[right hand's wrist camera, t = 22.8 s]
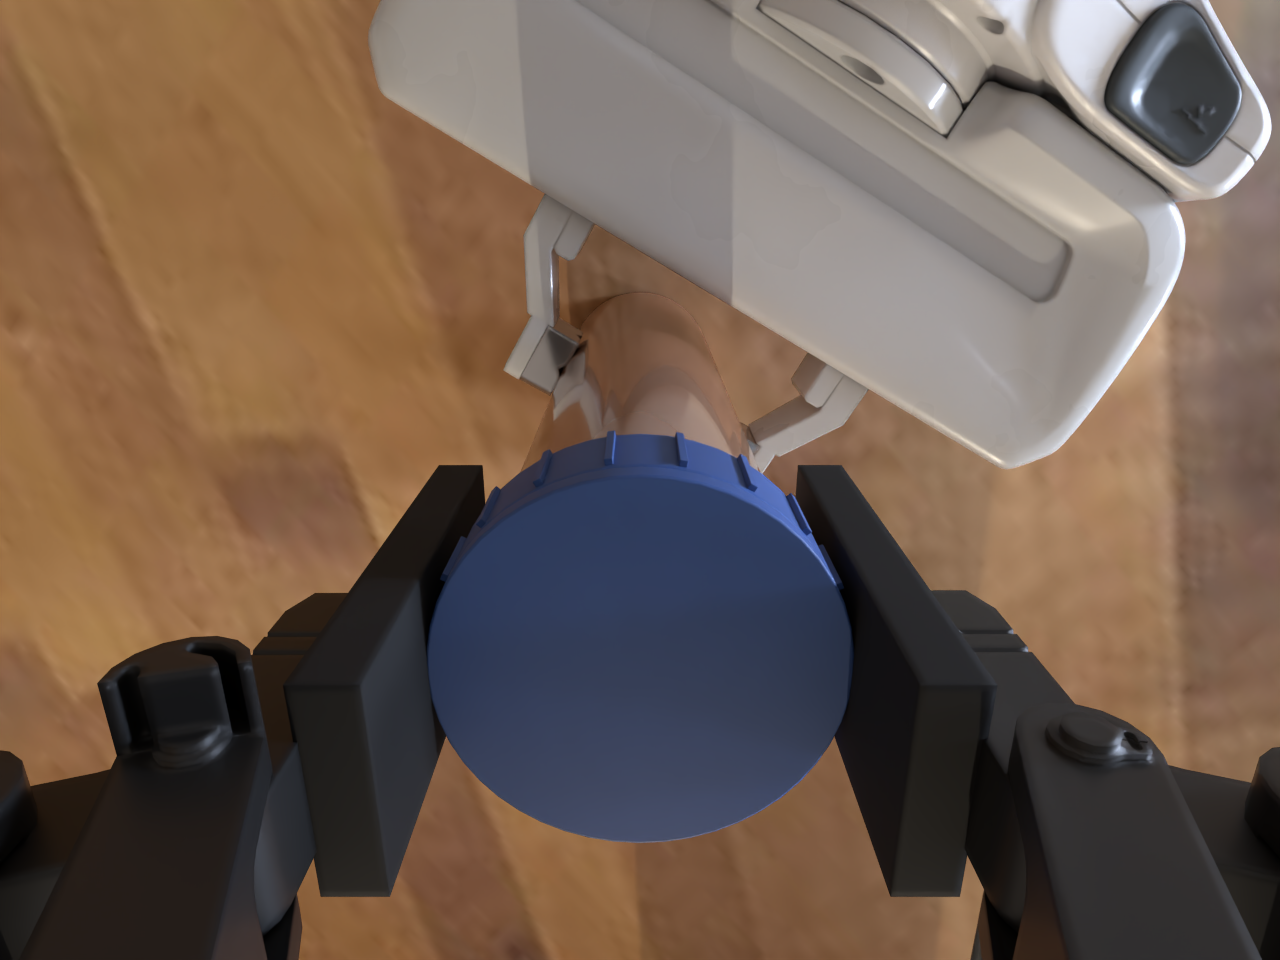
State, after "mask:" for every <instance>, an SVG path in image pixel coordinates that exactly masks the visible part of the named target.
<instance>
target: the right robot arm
mask: <svg viewBox="0 0 1280 960" xmlns="http://www.w3.org/2000/svg"><path fill="white" fill-rule="evenodd" d="M796 500H797V502H798V504H799V506H800V508H801V511H802V513H803V515H804V517H805V519H806V521H807V523H808V525H809V527H810V529H811V531H812V532H811V533H812V535H813V537H814V539H815V541H816V543H817V545H818V546H819V545H822V544H823V546H824V548H825V550H826V552H827V554H828V555H829V557H830V559H831V561H832V563H833V565H834V567H835V569H836V571H837V573H838V575H839V577H840V579H841V581H842V583H843V586H844V589H842V590H839V591H840V593H841V596H842V598H843V600H844V602H845V605H846V609H847V612H848V616H849V620H850V623H851V627H852V635H853V643H854V661H853V671H852V681H851V689H850V697H849V701H848V704H847V707H846V710H845V713H844V716H843V718H842V721H841V724H840V726H839V728H838V730H837V732H836V733H835V735H834V736H835V739H836V742H837V745H838V748H839V751H840V753H841V756H842V759H843V762H844V765H845V768H846V771H847V773H848V776H849V779H850V782H851V785H852V788H853V791H854V793H855V796H856V799H857V802H858V805H859V808H860V811H861V813H862V816H863V819H864V822H865V825H866V828H867V830H868V833H869V836H870V839H871V842H872V845H873V848H874V850H875V853H876V856H877V859H878V862H879V865H880V868H881V870H882V873H883V876H884V879H885V882H886V885H887V888H888V890H889V893H890V896H891V897H960V892H961V887H962V881H963V876H964V870H965V865H966V859H967V855H968V857H969V859H970V861H971V863H972V865H973V867H974V869H975V872H976V874H977V876H978V878H979V880H980V882H981V884H982V886H983V888H984V893H983V898H982V903H981V908H980V913H979V918H978V924H977V929H976V934H975V939H974V944H973V950H972V955H971V960H1280V747H1277V748H1272V749H1270V750H1269V751H1268V752H1266V753H1265V754H1263V755H1262V756H1261V757H1260V758H1259V761H1258V764H1257V767H1256V770H1255V773H1254V776H1253V779H1252V783H1249V782H1245V781H1240V780H1235V779H1230V778H1225V777H1220V776H1215V775H1210V774H1205V773H1200V772H1195V771H1190V770H1185V769H1181V768H1178V767H1174V766H1170V765H1168V764H1167V762H1166V760H1165V758H1164V756H1163V754H1162V753H1161V752H1160V750H1159V749H1158V748H1157V747H1156V745H1155V744H1154V743H1153V741H1152V740H1151V739H1150V738H1149V737H1148V736H1146V735H1145V734H1143V733H1142V732H1141V731H1139V730H1138V729H1136V728H1135V727H1134V726H1132V725H1131V724H1129V723H1128V722H1126V721H1123V720H1121V719H1119V718H1117V717H1114V716H1112V715H1110V714H1108V713H1105V712H1103V711H1100V710H1096V709H1092V708H1088V707H1084V706H1080V705H1076V704H1075V703H1074V702H1073V701H1072V700H1071V699H1070V697H1069V696H1068V695H1067V694H1066V693H1065V691H1064V690H1063V689H1062V688H1061V687H1060V685H1059V684H1058V683H1057V682H1056V681H1055V679H1054V678H1053V677H1052V676H1051V675H1050V673H1049V672H1048V671H1047V670H1046V669H1045V667H1044V666H1043V665H1042V664H1041V663H1040V661H1039V660H1038V659H1037V658H1036V657H1035V655H1034V654H1033V653H1032V652H1028V647H1027V646H1026V645H1025V643H1024V642H1023V641H1022V640H1021V639H1020V637H1019V636H1018V635H1017V634H1013V629H1012V628H1011V627H1010V625H1009V624H1008V623H1007V622H1006V621H1005V619H1004V618H1003V617H1002V616H1001V615H1000V613H999V612H998V611H997V610H996V609H995V608H994V607H992V606H990V605H989V604H987V603H985V602H984V601H982V600H980V599H979V598H977V597H976V596H974V595H972V594H971V593H969V592H967V591H966V590H930V589H929V588H928V586H927V585H926V584H925V582H924V581H923V579H922V578H921V577H920V575H919V574H918V572H917V571H916V569H915V568H914V567H913V565H912V564H911V562H910V561H909V560H908V558H907V557H906V555H905V554H904V553H903V551H902V550H901V548H900V547H899V546H898V544H897V543H896V541H895V540H894V539H893V537H892V536H891V534H890V533H889V531H888V530H887V529H886V527H885V526H884V524H883V523H882V522H881V520H880V519H879V517H878V516H877V515H876V513H875V512H874V510H873V509H872V508H871V506H870V505H869V503H868V502H867V501H866V499H865V498H864V496H863V495H862V493H861V492H860V491H859V489H858V488H857V486H856V485H855V484H854V482H853V481H852V479H851V478H850V477H849V475H848V474H847V472H846V471H845V470H844V468H843V467H842V465H798V473H797V487H796ZM484 506H485V494H484V480H483V466H482V465H439V466H438V467H437V469H436V470H435V472H434V473H433V474H432V476H431V477H430V479H429V480H428V481H427V483H426V484H425V486H424V487H423V489H422V490H421V491H420V493H419V494H418V496H417V497H416V498H415V500H414V501H413V503H412V504H411V505H410V507H409V508H408V510H407V511H406V512H405V514H404V515H403V517H402V518H401V519H400V521H399V522H398V524H397V525H396V527H395V528H394V529H393V531H392V532H391V534H390V535H389V536H388V538H387V539H386V541H385V542H384V543H383V545H382V546H381V548H380V549H379V550H378V552H377V553H376V555H375V556H374V558H373V559H372V560H371V562H370V563H369V565H368V566H367V567H366V569H365V570H364V572H363V573H362V574H361V576H360V577H359V579H358V580H357V581H356V583H355V584H354V586H353V587H352V588H351V590H350V591H349V593H315V594H313V595H311V596H310V597H308V598H306V599H305V600H303V601H302V602H300V603H298V604H297V605H295V606H293V607H292V608H290V609H288V610H287V611H285V612H284V614H283V615H282V616H281V617H280V619H279V620H278V621H277V622H276V623H275V625H274V626H273V627H272V628H271V629H270V631H269V632H268V637H264V638H263V639H262V640H261V642H260V643H259V644H258V645H257V646H256V648H255V649H254V650H253V655H251V654H250V649H249V648H248V647H246V646H245V645H243V644H242V643H241V642H239V641H238V640H234V639H229V638H224V637H219V636H208V637H190V638H185V639H181V640H176V641H171V642H167V643H162V644H160V645H157V646H154V647H152V648H149V649H147V650H144V651H141V652H139V653H136V654H134V655H132V656H131V657H129V658H127V659H126V660H124V661H122V662H121V663H119V664H117V665H116V666H114V667H113V668H111V669H110V670H109V671H108V673H107V674H106V675H105V676H104V677H103V678H102V679H101V680H100V681H99V682H98V683H97V684H98V688H99V692H100V695H101V699H102V703H103V706H104V710H105V714H106V717H107V721H108V725H109V728H110V732H111V736H112V739H113V743H114V747H115V750H116V754H117V757H116V759H115V761H114V763H113V765H112V767H111V769H109V770H105V771H102V772H98V773H93V774H88V775H83V776H79V777H74V778H69V779H64V780H59V781H54V782H49V783H44V784H39V785H34V786H30V784H29V780H28V777H27V774H26V771H25V768H24V765H23V762H22V760H20V759H19V758H18V757H16V756H15V755H14V754H12V753H11V752H9V751H0V960H298V958H299V950H300V942H301V934H302V922H301V914H300V908H299V903H298V898H297V891H298V889H299V887H300V885H301V883H302V881H303V879H304V877H305V875H306V873H307V871H308V868H309V866H310V864H311V862H312V860H313V858H314V862H315V867H316V873H317V878H318V884H319V890H320V895H321V897H390V895H391V892H392V889H393V886H394V883H395V880H396V878H397V875H398V872H399V869H400V866H401V863H402V860H403V858H404V855H405V852H406V849H407V846H408V843H409V840H410V838H411V835H412V832H413V829H414V826H415V823H416V820H417V818H418V815H419V812H420V809H421V806H422V803H423V800H424V798H425V795H426V792H427V789H428V786H429V783H430V780H431V778H432V775H433V772H434V769H435V766H436V763H437V760H438V758H439V755H440V752H441V749H442V746H443V743H444V740H445V738H446V734H445V732H444V730H443V728H442V726H441V724H440V722H439V719H438V716H437V713H436V710H435V707H434V704H433V701H432V698H431V693H430V685H429V676H428V666H427V650H426V649H427V641H428V634H429V626H430V622H431V619H432V615H433V612H434V608H435V605H436V602H437V599H438V597H439V595H440V593H441V591H442V589H443V586H444V584H445V582H444V581H442V580H440V578H441V576H442V573H443V571H444V569H445V567H446V565H447V563H448V561H449V559H450V557H451V555H452V553H453V551H454V549H455V547H456V546H457V544H458V542H459V540H460V538H461V536H463V537H465V538H467V537H468V535H469V533H470V531H471V529H472V527H473V525H474V523H475V522H476V520H477V519H478V517H479V516H480V514H481V512H482V510H483V508H484Z"/></svg>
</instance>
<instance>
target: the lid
mask: <svg viewBox="0 0 1280 960" xmlns="http://www.w3.org/2000/svg"><path fill="white" fill-rule="evenodd" d="M811 532H812V531H811V529H810V527H809V525H808V523H807V521H806V519H805V517H804V515H803V513H802V511H801V508H800V506H799V504H798V502H797V500H796V498H795V497H794V496H793V495H792V494H791V493H790V494H789V495H788V496H785V494H784V493H783V492H782V491H781V490H780V489H779V488H778V487H777V486H776V485H774V484H773V483H772V482H771V481H770V480H769V479H768V478H766V477H765V476H764V475H763V474H762V473H760V472H759V471H757V470H756V469H754V468H753V467H751V466H750V465H749V462H748V460H747V457H745V456H744V455H742V454H740V455H739V456H738V458H736V457H734V456H732V455H730V454H728V453H726V452H724V451H722V450H720V449H717V448H714V447H711V446H708V445H705V444H702V443H699V442H696V441H693V440H688V439H684V433H679V432H676V435H675V437H672V436H666V435H651V434H630V435H616V433H615V431H608V432H607V437H603V438H598V439H593V440H588V441H585V442H582V443H579V444H576V445H573V446H569V447H566V448H564V449H561V450H559V451H557V452H555V453H553V454H552V452H551V450H550V449H549V450H547V451H545V452H543V454H542V457H541V459H540V460H539V461H537V462H536V463H534V464H533V465H531V466H530V467H528V468H527V469H525V470H523V471H522V472H520V473H519V474H518V475H517V476H516V477H514V478H513V479H512V480H511V481H510V482H509V483H507V484H506V485H505V486H504V487H503V488H502V489H501V490H500V489H499V488H498V487H497V486H496V487H495V488H494V489H493V490H492V491H491V494H490V496H489V498H488V500H487V502H486V504H485V506H484V508H483V510H482V512H481V514H480V516H479V517H478V519H477V520H476V522H475V523H474V525H473V527H472V529H471V531H470V533H469V535H468V537H467V538H465V537H463V536H461V538H460V540H459V542H458V544H457V546H456V547H455V549H454V551H453V553H452V555H451V557H450V559H449V561H448V563H447V565H446V567H445V569H444V571H443V573H442V576H441V578H440V580H442V581H444V582H445V584H444V586H443V589H442V591H441V593H440V595H439V597H438V599H437V602H436V605H435V608H434V612H433V615H432V619H431V622H430V626H429V634H428V641H427V649H426V650H427V666H428V676H429V685H430V693H431V698H432V701H433V704H434V707H435V710H436V713H437V716H438V719H439V722H440V724H441V726H442V728H443V730H444V732H445V734H446V736H447V738H448V740H449V742H450V744H451V745H452V746H453V748H454V749H455V751H456V752H457V754H458V755H459V757H460V758H461V760H462V761H463V762H464V764H465V765H466V766H467V767H468V768H469V769H470V770H471V771H472V772H473V774H474V775H475V776H476V777H477V778H478V779H479V780H480V781H481V782H482V783H483V784H484V785H486V786H487V787H488V788H489V789H490V790H491V791H493V792H494V793H495V794H496V795H497V796H498V797H500V798H501V799H503V800H504V801H506V802H507V803H509V804H510V805H512V806H513V807H515V808H516V809H518V810H519V811H521V812H523V813H525V814H527V815H529V816H531V817H533V818H535V819H537V820H538V821H540V822H543V823H545V824H548V825H551V826H553V827H556V828H558V829H561V830H563V831H567V832H571V833H574V834H578V835H582V836H585V837H589V838H596V839H602V840H608V841H615V842H634V843H646V842H666V841H672V840H679V839H685V838H691V837H695V836H699V835H703V834H707V833H710V832H714V831H717V830H720V829H722V828H725V827H728V826H730V825H733V824H736V823H738V822H740V821H742V820H744V819H746V818H748V817H750V816H752V815H754V814H756V813H758V812H760V811H761V810H763V809H764V808H766V807H767V806H769V805H771V804H772V803H774V802H775V801H777V800H778V799H780V798H781V797H782V796H783V795H785V794H786V793H787V792H788V791H789V790H791V789H792V788H793V787H794V786H795V785H796V784H798V783H799V782H800V781H801V780H802V779H803V778H804V776H805V775H806V774H807V773H808V772H809V771H810V770H811V769H812V768H813V767H814V766H815V765H816V763H817V762H818V760H819V759H820V758H821V756H822V755H823V753H824V752H825V751H826V749H827V748H828V746H829V745H830V743H831V741H832V739H833V737H834V735H835V733H836V732H837V730H838V728H839V726H840V724H841V721H842V718H843V716H844V713H845V710H846V707H847V704H848V701H849V697H850V689H851V681H852V671H853V661H854V643H853V635H852V627H851V623H850V620H849V616H848V612H847V609H846V605H845V602H844V600H843V598H842V596H841V593H840V591H839V590H842V589H844V586H843V583H842V581H841V579H840V577H839V575H838V573H837V571H836V569H835V567H834V565H833V563H832V561H831V559H830V557H829V555H828V554H827V552H826V550H825V548H824V546H823V544H822V545H819V546H818V545H817V543H816V541H815V539H814V537H813V535H812V533H811Z"/></svg>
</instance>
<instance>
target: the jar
mask: <svg viewBox="0 0 1280 960" xmlns="http://www.w3.org/2000/svg"><path fill="white" fill-rule="evenodd" d="M579 330H580V331H582V332H583V336H582V338H581V341H580V343H579V345H578V347H577V349H576V351H575V352H574V354H573V356H572V358H571V360H570V361H569V362H568V364H567V365H566V366H564V368H563V370H562V372H561V375H560V377H559V380H558V382H557V385H556V387H555V389H554V392H553V394H552V397H551V399H550V401H549V404H548V406H547V409H546V411H545V414H544V416H543V418H542V421H541V423H540V426H539V428H538V430H537V433H536V435H535V438H534V440H533V443H532V445H531V447H530V450H529V452H528V455H527V457H526V459H525V462H524V464H523V467H522V469H521V472H522V471H523V470H525V469H527V468H528V467H530V466H531V465H533V464H534V463H536V462H537V461H539V460H540V459H541V457H542V454H543V452H545V451H547V450H549V449H550V450H551V452H552V454H553V453H555V452H557V451H559V450H561V449H564V448H566V447H569V446H573V445H576V444H579V443H582V442H585V441H588V440H593V439H598V438H603V437H607V432H608V431H615V433H616V435H630V434H651V435H666V436H672V437H675V435H676V432H679V433H684V439H688V440H693V441H696V442H699V443H702V444H705V445H708V446H711V447H714V448H717V449H720V450H722V451H724V452H726V453H728V454H730V455H732V456H734V457H736V458H738V456H739V455H740V454H742V455H744V456H745V457H747V460H748V462H749V465H750V466H751V467H753V468H754V469H756V470H757V471H759V472H760V470H759V467H758V465H757V463H756V460H755V458H754V455H753V453H752V451H751V448H750V446H749V443H748V441H747V439H746V436H745V434H744V431H743V429H742V427H741V424H740V422H739V419H738V417H737V415H736V412H735V410H734V407H733V405H732V403H731V400H730V398H729V395H728V393H727V391H726V388H725V386H724V383H723V381H722V379H721V376H720V374H719V371H718V369H717V367H716V364H715V362H714V359H713V357H712V354H711V352H710V350H709V347H708V345H707V342H706V340H705V338H704V335H703V333H702V331H701V329H700V327H699V325H698V323H697V322H696V321H695V319H694V318H693V316H692V315H691V314H690V313H689V312H688V311H687V310H686V309H684V308H683V307H682V306H681V305H679V304H678V303H676V302H675V301H673V300H671V299H669V298H667V297H664V296H661V295H658V294H654V293H647V292H633V293H626V294H623V295H619V296H616V297H614V298H611V299H609V300H607V301H606V302H604V303H602V304H601V305H600V306H598V307H597V308H596V309H595V310H594V311H593V312H592V313H591V314H590V315H589V316H588V317H587V318H586V320H585V321H584V322H583V324H582V326H581V328H580V329H579ZM760 473H761V472H760Z"/></svg>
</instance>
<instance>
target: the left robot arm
mask: <svg viewBox="0 0 1280 960" xmlns="http://www.w3.org/2000/svg"><path fill="white" fill-rule="evenodd" d="M368 46H369V50H370V55H371V59H372V64H373V68H374V72H375V76H376V80H377V84H378V87H379V89H380V91H381V93H382V94H383V95H384V96H385V97H386V98H388V99H389V100H391V101H393V102H394V103H396V104H398V105H399V106H401V107H402V108H404V109H406V110H407V111H409V112H411V113H412V114H414V115H416V116H417V117H419V118H421V119H422V120H424V121H426V122H427V123H429V124H431V125H432V126H434V127H436V128H437V129H439V130H440V131H442V132H444V133H445V134H447V135H449V136H450V137H452V138H454V139H455V140H457V141H459V142H460V143H462V144H464V145H465V146H467V147H469V148H470V149H472V150H474V151H475V152H477V153H479V154H480V155H482V156H484V157H485V158H487V159H489V160H490V161H492V162H493V163H495V164H497V165H498V166H500V167H502V168H503V169H505V170H507V171H508V172H510V173H512V174H513V175H515V176H517V177H518V178H520V179H522V180H523V181H525V182H527V183H528V184H530V185H532V186H533V187H535V188H537V189H538V190H540V191H542V192H543V193H545V195H544V196H543V198H542V200H541V202H540V204H539V206H538V208H537V210H536V212H535V214H534V216H533V218H532V220H531V222H530V224H529V226H528V228H527V230H526V232H525V234H524V254H525V275H526V296H527V313H529V314H530V315H531V317H530V319H529V321H528V323H527V325H526V327H525V328H524V330H523V332H522V334H521V336H520V338H519V340H518V342H517V343H516V345H515V347H514V349H513V351H512V353H511V355H510V357H509V359H508V360H507V362H506V365H505V367H504V369H503V370H504V371H505V372H507V373H508V374H510V375H512V376H513V377H515V378H517V379H520V380H521V381H523V382H525V383H527V384H529V385H531V386H533V387H534V388H536V389H538V390H540V391H542V392H544V393H546V394H548V395H549V396H550V395H551V393H552V392H553V390H554V388H555V387H556V385H557V382H558V380H559V377H560V375H561V372H562V370H563V368H564V366H566V365H567V364H568V362H569V361H570V360H571V358H572V356H573V354H574V352H575V351H576V349H577V347H578V345H579V343H580V341H581V338H582V336H583V332H582V331H580V330H579V329H577V328H576V327H574V326H572V325H571V324H569V323H567V322H566V321H564V320H562V319H561V318H559V317H560V305H559V256H561V257H563V258H564V259H566V260H568V261H569V260H572V259H574V258H575V257H576V256H577V255H578V254H579V253H580V251H581V249H582V247H583V246H584V244H585V242H586V240H587V238H588V237H589V235H590V233H591V231H592V229H593V227H594V226H595V224H596V225H598V226H599V227H601V228H603V229H604V230H606V231H608V232H609V233H611V234H613V235H614V236H616V237H618V238H619V239H621V240H623V241H624V242H626V243H628V244H629V245H631V246H633V247H634V248H636V249H638V250H639V251H641V252H643V253H644V254H646V255H647V256H649V257H651V258H652V259H654V260H656V261H657V262H659V263H661V264H662V265H664V266H666V267H667V268H669V269H671V270H672V271H674V272H676V273H677V274H679V275H681V276H682V277H684V278H686V279H687V280H689V281H691V282H692V283H694V284H696V285H697V286H699V287H700V288H702V289H704V290H705V291H707V292H709V293H710V294H712V295H714V296H715V297H717V298H719V299H720V300H722V301H724V302H725V303H727V304H729V305H730V306H732V307H734V308H735V309H737V310H739V311H740V312H742V313H744V314H745V315H747V316H749V317H750V318H752V319H753V320H755V321H757V322H758V323H760V324H762V325H763V326H765V327H767V328H768V329H770V330H772V331H773V332H775V333H777V334H778V335H780V336H782V337H783V338H785V339H787V340H788V341H790V342H792V343H793V344H795V345H797V346H798V347H800V348H802V349H803V350H805V351H806V352H808V353H807V355H806V356H805V358H804V359H803V361H802V363H801V364H800V366H799V367H798V369H797V370H796V372H795V374H794V375H793V377H792V378H791V379H792V384H793V385H794V386H795V388H796V389H797V390H798V391H799V393H800V394H801V395H800V396H798V397H796V398H795V399H793V400H791V401H789V402H788V403H786V404H784V405H782V406H781V407H779V408H777V409H775V410H773V411H772V412H770V413H768V414H766V415H765V416H763V417H761V418H759V419H758V420H756V421H754V422H752V423H750V424H749V425H748V426H749V427H748V426H747V425H745V424H743V423H741V422H740V424H741V427H742V429H743V431H744V434H745V436H746V439H747V441H748V443H749V446H750V448H751V451H752V453H753V455H754V458H755V460H756V463H757V465H758V467H759V470H760V472H761V473H762V474H763V472H764V471H765V469H766V468H767V466H768V465H769V463H770V462H771V460H772V459H773V457H774V456H775V455H777V456H779V457H780V456H782V455H784V454H786V453H788V452H790V451H792V450H794V449H796V448H798V447H800V446H802V445H804V444H806V443H808V442H810V441H812V440H814V439H816V438H818V437H820V436H822V435H824V434H826V433H828V432H830V431H832V430H834V429H836V428H838V427H840V426H842V425H844V424H845V422H846V421H847V419H848V418H849V416H850V415H851V414H852V412H853V411H854V409H855V408H856V406H857V405H858V404H859V402H860V401H861V399H862V398H863V397H864V395H865V394H866V392H867V391H868V389H869V390H871V391H873V392H874V393H876V394H878V395H879V396H881V397H883V398H884V399H886V400H888V401H889V402H891V403H893V404H894V405H896V406H898V407H899V408H901V409H903V410H904V411H906V412H908V413H909V414H911V415H912V416H914V417H916V418H917V419H919V420H921V421H922V422H924V423H926V424H927V425H929V426H931V427H932V428H934V429H936V430H937V431H939V432H941V433H942V434H944V435H946V436H947V437H949V438H951V439H952V440H954V441H956V442H957V443H959V444H961V445H962V446H964V447H965V448H967V449H969V450H970V451H972V452H974V453H975V454H977V455H979V456H980V457H982V458H984V459H985V460H987V461H989V462H990V463H992V464H994V465H995V466H997V467H999V468H1002V469H1012V468H1015V467H1019V466H1022V465H1025V464H1027V463H1030V462H1033V461H1035V460H1038V459H1040V458H1043V457H1045V456H1048V455H1050V454H1052V453H1053V452H1055V451H1056V450H1057V449H1058V448H1059V447H1061V446H1062V445H1063V444H1064V443H1065V442H1066V441H1067V440H1068V438H1069V437H1070V436H1071V435H1072V434H1073V433H1074V431H1075V430H1076V429H1077V428H1078V427H1079V426H1080V424H1081V423H1082V422H1083V420H1084V419H1085V418H1086V417H1087V415H1088V414H1089V413H1090V411H1091V410H1092V409H1093V408H1094V406H1095V405H1096V404H1097V402H1098V401H1099V400H1100V399H1101V397H1102V396H1103V394H1104V393H1105V392H1106V390H1107V389H1108V388H1109V386H1110V385H1111V384H1112V382H1113V381H1114V379H1115V378H1116V377H1117V375H1118V374H1119V373H1120V371H1121V370H1122V368H1123V367H1124V365H1125V364H1126V363H1127V361H1128V360H1129V358H1130V357H1131V355H1132V354H1133V353H1134V351H1135V350H1136V348H1137V347H1138V345H1139V344H1140V342H1141V341H1142V339H1143V338H1144V336H1145V335H1146V333H1147V331H1148V330H1149V328H1150V327H1151V325H1152V324H1153V322H1154V321H1155V319H1156V317H1157V316H1158V314H1159V312H1160V311H1161V309H1162V308H1163V306H1164V304H1165V302H1166V301H1167V299H1168V297H1169V295H1170V293H1171V291H1172V289H1173V287H1174V285H1175V282H1176V280H1177V278H1178V275H1179V272H1180V269H1181V266H1182V262H1183V258H1184V251H1185V229H1184V224H1183V221H1182V217H1181V215H1180V212H1179V210H1178V208H1177V207H1176V205H1175V203H1174V202H1184V201H1195V200H1205V199H1213V198H1216V197H1219V196H1221V195H1223V194H1225V193H1226V192H1228V191H1229V190H1230V189H1232V188H1233V187H1234V186H1235V185H1236V184H1237V183H1238V182H1239V181H1240V180H1241V179H1242V178H1243V177H1244V176H1245V174H1246V173H1247V172H1248V171H1249V170H1250V168H1251V167H1252V166H1253V165H1254V163H1255V162H1256V161H1257V159H1258V158H1259V157H1260V155H1261V154H1262V152H1263V150H1264V149H1265V147H1266V145H1267V143H1268V141H1269V138H1270V134H1271V119H1270V114H1269V111H1268V108H1267V106H1266V103H1265V101H1264V99H1263V97H1262V96H1261V94H1260V92H1259V90H1258V88H1257V86H1256V85H1255V83H1254V81H1253V80H1252V78H1251V76H1250V75H1249V73H1248V71H1247V69H1246V68H1245V66H1244V64H1243V63H1242V61H1241V59H1240V57H1239V56H1238V54H1237V52H1236V50H1235V49H1234V47H1233V45H1232V43H1231V42H1230V40H1229V38H1228V36H1227V34H1226V33H1225V31H1224V29H1223V27H1222V25H1221V23H1220V22H1219V20H1218V18H1217V16H1216V14H1215V12H1214V11H1213V9H1212V7H1211V5H1210V3H1209V1H1208V0H381V1H380V3H379V5H378V8H377V10H376V12H375V15H374V17H373V19H372V22H371V25H370V28H369V32H368Z"/></svg>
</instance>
